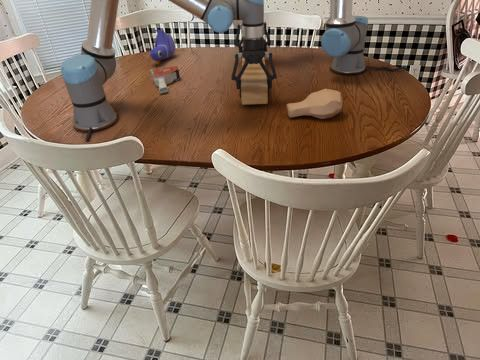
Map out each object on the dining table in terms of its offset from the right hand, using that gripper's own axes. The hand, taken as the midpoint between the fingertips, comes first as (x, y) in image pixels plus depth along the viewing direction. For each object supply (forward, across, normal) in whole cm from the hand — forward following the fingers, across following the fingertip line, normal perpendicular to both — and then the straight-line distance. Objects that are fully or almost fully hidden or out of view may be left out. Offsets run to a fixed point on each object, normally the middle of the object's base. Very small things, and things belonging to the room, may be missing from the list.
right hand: (253, 59), depth 176 cm
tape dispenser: (+2, +41, +22) cm, 47 cm away
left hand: (0, 0, +46) cm, 46 cm away
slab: (+1, 0, +23) cm, 23 cm away
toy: (+2, +48, -13) cm, 50 cm away
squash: (+3, -21, +60) cm, 64 cm away
